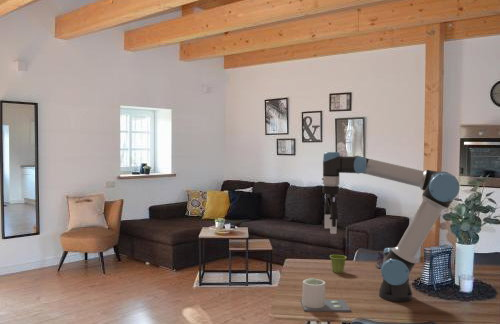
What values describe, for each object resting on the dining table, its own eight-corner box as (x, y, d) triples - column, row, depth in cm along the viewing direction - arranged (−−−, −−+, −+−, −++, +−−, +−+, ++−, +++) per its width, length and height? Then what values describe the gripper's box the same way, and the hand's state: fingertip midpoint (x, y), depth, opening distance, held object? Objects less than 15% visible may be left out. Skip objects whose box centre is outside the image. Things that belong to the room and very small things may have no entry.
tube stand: (344, 301, 213) (344, 278, 213) (350, 311, 200) (351, 286, 200) (300, 300, 213) (300, 277, 212) (304, 311, 200) (304, 286, 199)
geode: (388, 271, 265) (386, 254, 266) (371, 270, 274) (369, 252, 275) (408, 265, 278) (407, 248, 278) (392, 263, 287) (390, 247, 287)
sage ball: (320, 281, 209) (309, 273, 209) (322, 285, 203) (311, 277, 203) (312, 292, 209) (301, 284, 209) (314, 296, 203) (302, 288, 203)
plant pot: (348, 271, 264) (349, 256, 264) (342, 275, 256) (343, 259, 256) (333, 268, 269) (333, 253, 269) (326, 272, 261) (327, 257, 261)
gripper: (318, 183, 228) (317, 226, 229) (328, 187, 203) (327, 236, 204) (333, 183, 229) (332, 226, 229) (345, 187, 204) (344, 236, 204)
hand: (330, 230), depth 217 cm, fingers open, 13 cm apart
